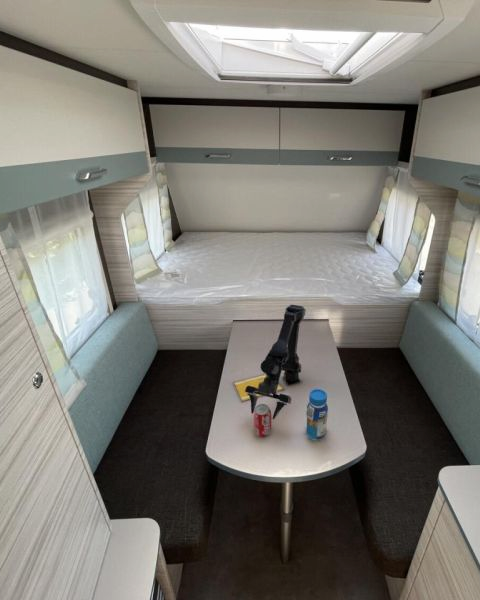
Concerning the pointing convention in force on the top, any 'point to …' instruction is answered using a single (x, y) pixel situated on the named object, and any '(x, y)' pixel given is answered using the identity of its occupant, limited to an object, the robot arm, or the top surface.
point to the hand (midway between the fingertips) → (262, 416)
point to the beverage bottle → (317, 414)
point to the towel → (250, 382)
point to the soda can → (262, 420)
